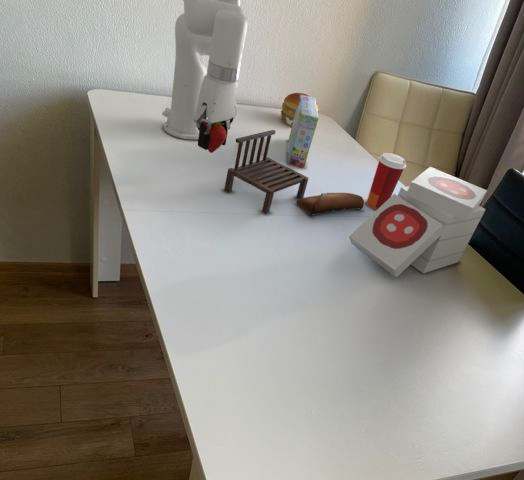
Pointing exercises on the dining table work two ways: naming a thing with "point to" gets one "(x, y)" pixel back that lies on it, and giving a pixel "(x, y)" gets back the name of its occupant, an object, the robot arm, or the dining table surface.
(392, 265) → the pizza boxes
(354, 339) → the dining table surface
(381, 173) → the paper cup
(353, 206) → the sunglasses case
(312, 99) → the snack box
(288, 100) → the burger
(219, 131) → the strawberry
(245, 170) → the miniature wooden chair
